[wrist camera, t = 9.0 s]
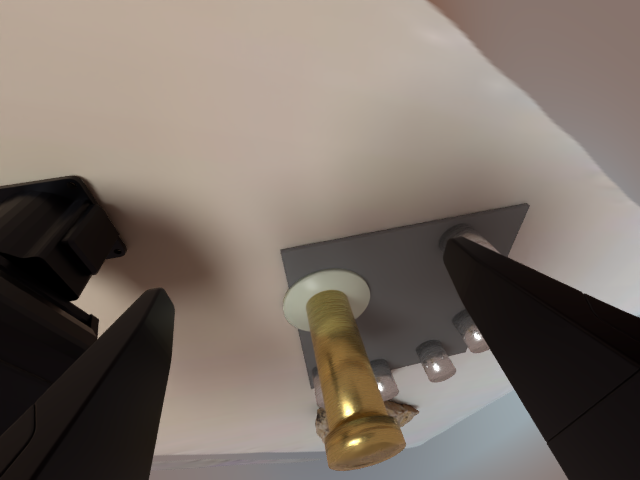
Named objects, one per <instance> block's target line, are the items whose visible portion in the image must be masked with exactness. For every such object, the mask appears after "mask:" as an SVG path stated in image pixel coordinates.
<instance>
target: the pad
mask: <svg viewBox="0 0 640 480" xmlns="http://www.w3.org/2000/svg"><path fill="white" fill-rule="evenodd" d="M326 290H338V291H341V292H343V293H344V294H346V296H347V298H348V300H349V303H350V306H351V309H352V312H353V315H354V318H355V319H356V318H358V317H359V316H360V315H361V314H362V313H363V312H364V310H365V309H366V307H367V306H368V304H369V300H370V290H369V287H368V285H367V283H366V281H365V280H364V279H363V277H361V276H360V275H359V274H357V273H355V272H353V271H350V270H347V269H339V268H332V269H324V270H320V271H316V272H313V273H310V274H308V275H306V276H304V277H303V278H301V279H299V280H298V281H297V282H295V283H294V284H293V285H292V286H291V287H290V288H289V290H288V291H287V293H286V295H285V297H284V300H283V311H284V315H285V318H286V319H287V321H288V322H289V323H290V324H291V325H292V326H294V327H296V328H298V329H301V330H304V331H309V332H310V328H309V323H308V317H307V312H306V304H307V302H308V300H309V299H310V298H311V297H312V296H314V295H315V294H317V293H319V292H322V291H326Z"/></svg>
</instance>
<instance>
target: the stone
mask: <svg viewBox="0 0 640 480" xmlns="http://www.w3.org/2000/svg"><path fill="white" fill-rule="evenodd" d="M383 402H384V405H385V408H386V410H387V413H388V415H389V416H393V417H395V418H396V419H397V421H398V423H399V426H400V427H403V426H404V425H405V424H406V423H408V422H409V421H410V420H411V419H412V418H413V417H414V416H415V415H417V414H418V413H419V411H418V410H416V409H414V408H413V407H412V406H409V405H406V404H397V403H394V402H391V401H387V400H386V401H383ZM315 426H316V433H317V435H318V436H319V437H321V439H322V441H323V443H324V439H325V437H326V436H327V435H328V434H329V433H330V431H329V426H328V421H327V416H326V411H325V408H319V409H318V410H317V418H316V423H315ZM324 444H325V443H324Z"/></svg>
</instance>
